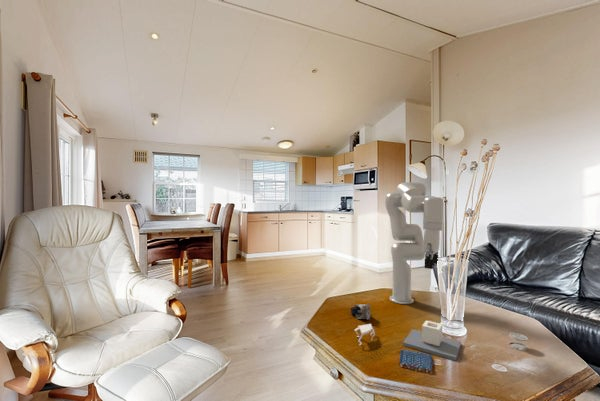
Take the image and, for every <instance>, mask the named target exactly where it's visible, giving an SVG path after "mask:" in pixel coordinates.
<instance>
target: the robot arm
mask: <svg viewBox="0 0 600 401" xmlns="http://www.w3.org/2000/svg"><path fill="white" fill-rule="evenodd" d="M426 194H427V187H426V185H425V184H424V183H422V182H418V181H417V182H415V181H414V182H413V181H410V182H409V181H407V182H406V181H404V182H401V183H400V184H398V185H397V187H396V191H395V192H390V193H387V195H386V196H385V199H384V200H385V202H384V203H385V208H386V211H387V214H388V217H389V222H390V229H391V236H392V238H393V240H395V241H397V242H395V243H393V244H392V246H391V248H390V252H391V258H392V259H391V260H392V295H390V296H389V301H391V302H392V303H396V304H400V305H410V304H413V303H414V302H415V301H414V300H415V299H414V298H413V297H412V268H411V266H410V264H409V263H408V262H407V261H422V260H424V268H425V269H427V270H429V269H430V270H433V269H434V265H438V264H437V261H438V262H439V251H440V243H441V242H440V241H441V236H440V235H441V234H440V232H441V231H443V222H444V221H443V220H444V200H443V198H442V197H437V196H432V195H426ZM400 208H403V209H404V210H405V211H406V212H409V213H413V214H414V213H415V214H417V213H419V214H421V213H423V217H422V218H423V220H422V227H420V225H418V224H416V223H407V218H406V215H405V213H404V212H403V211H402V210H401V209H400ZM421 228H422V229H421ZM422 230H424V233H423V231H422ZM398 241H399V242H398ZM405 241H406V242H405ZM437 258H438V259H437Z"/></svg>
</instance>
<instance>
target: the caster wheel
mask: <svg viewBox="0 0 600 401" xmlns="http://www.w3.org/2000/svg"><path fill="white" fill-rule="evenodd" d="M370 307H371V306H370V303H367V304H360V303H359V304H358V303H357V304H354V306H352V307H351V306H350V314H352V315H355V318H356V319H363V320H366V321H368V320H370V319H371V308H370Z"/></svg>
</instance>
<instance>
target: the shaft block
mask: <svg viewBox="0 0 600 401" xmlns="http://www.w3.org/2000/svg"><path fill="white" fill-rule="evenodd" d="M402 346H404V347H406V348H409V349H410V348H411V349H413V350H416V351H421V352H424V353H426V354H429V355H434V356H438V357H440V358H445V359H448V360H451V361H457V359H458V355H459V353H460V351H461V350H460V349H461V347H462V341H461V340H457V339H453V338H449V337H445V336H442V341H441V343H440V345H439V346H437V345H434V344H430V343H426V342H423V341H422V330H418V329H415V328H414V329H413V328H412V329H411V331H410V332H409V333H408V334H407V336H406V338H405V339H404V341H403V342H402Z"/></svg>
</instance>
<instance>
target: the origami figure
mask: <svg viewBox="0 0 600 401" xmlns="http://www.w3.org/2000/svg"><path fill="white" fill-rule="evenodd" d="M358 331H360V334H359V333H358ZM354 332H355V333H356V335H357V336H356V338H357V337H358V340H357V341H358V343H359V344H358V345H359V346H361V345H363V342H362V341H361V339H362V338H363V336H364V335H367V334H369V333H370V336H371V338H370V339H371V342H373V341H374V340H373V338H374V337H375V335H376V333H375V329H374V327H373V326H372V323H367V324H362V325H357V328H355V329H354Z"/></svg>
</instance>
